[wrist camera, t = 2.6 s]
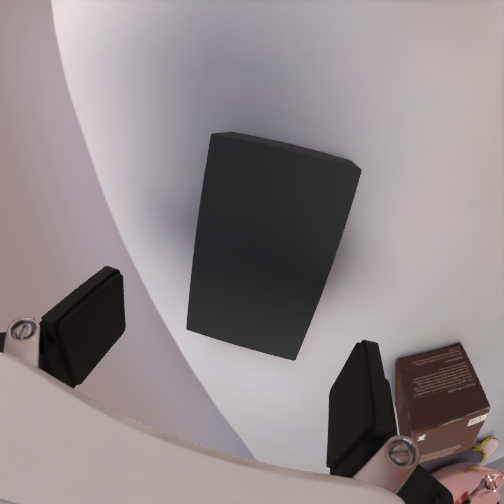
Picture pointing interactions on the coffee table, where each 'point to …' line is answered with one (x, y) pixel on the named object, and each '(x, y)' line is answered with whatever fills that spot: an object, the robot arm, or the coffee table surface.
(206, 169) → the black rectangular block
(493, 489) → the piggy bank
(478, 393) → the box
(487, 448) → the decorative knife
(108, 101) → the coffee table surface
